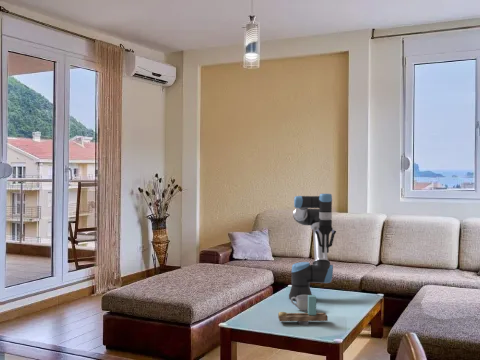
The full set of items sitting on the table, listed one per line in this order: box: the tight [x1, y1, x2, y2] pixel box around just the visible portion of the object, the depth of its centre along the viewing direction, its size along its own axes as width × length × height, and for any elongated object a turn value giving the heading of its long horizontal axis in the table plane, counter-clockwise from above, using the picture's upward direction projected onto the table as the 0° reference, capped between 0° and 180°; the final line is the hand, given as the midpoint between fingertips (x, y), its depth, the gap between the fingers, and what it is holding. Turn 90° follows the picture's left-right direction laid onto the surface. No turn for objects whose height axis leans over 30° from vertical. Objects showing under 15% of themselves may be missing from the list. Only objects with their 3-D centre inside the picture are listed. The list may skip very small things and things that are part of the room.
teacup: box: [290, 295, 308, 312], centre depth 314 cm, size 14×11×8 cm
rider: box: [307, 294, 317, 315], centre depth 288 cm, size 4×4×12 cm
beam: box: [277, 311, 329, 326], centre depth 288 cm, size 26×7×6 cm, turn 92°
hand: (325, 258), depth 318 cm, fingers closed
